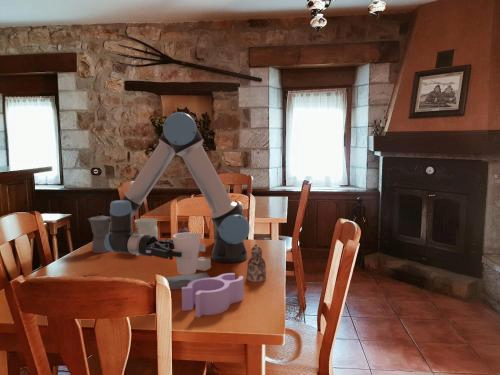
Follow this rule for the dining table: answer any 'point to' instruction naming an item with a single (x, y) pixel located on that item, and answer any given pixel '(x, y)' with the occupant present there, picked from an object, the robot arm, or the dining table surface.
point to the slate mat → (184, 280)
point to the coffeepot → (99, 232)
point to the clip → (212, 294)
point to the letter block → (203, 263)
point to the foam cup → (191, 244)
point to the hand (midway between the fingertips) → (198, 251)
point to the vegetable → (183, 229)
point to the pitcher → (146, 227)
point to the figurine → (256, 266)
